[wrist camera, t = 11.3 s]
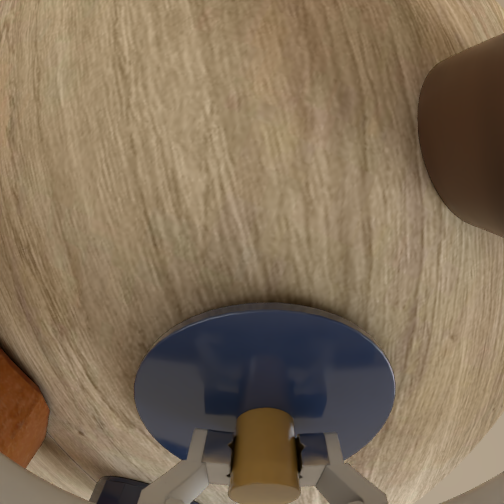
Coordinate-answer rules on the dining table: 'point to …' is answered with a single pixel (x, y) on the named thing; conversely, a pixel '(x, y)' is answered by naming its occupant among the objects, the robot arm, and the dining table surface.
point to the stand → (467, 133)
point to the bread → (20, 413)
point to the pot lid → (265, 389)
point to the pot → (118, 491)
